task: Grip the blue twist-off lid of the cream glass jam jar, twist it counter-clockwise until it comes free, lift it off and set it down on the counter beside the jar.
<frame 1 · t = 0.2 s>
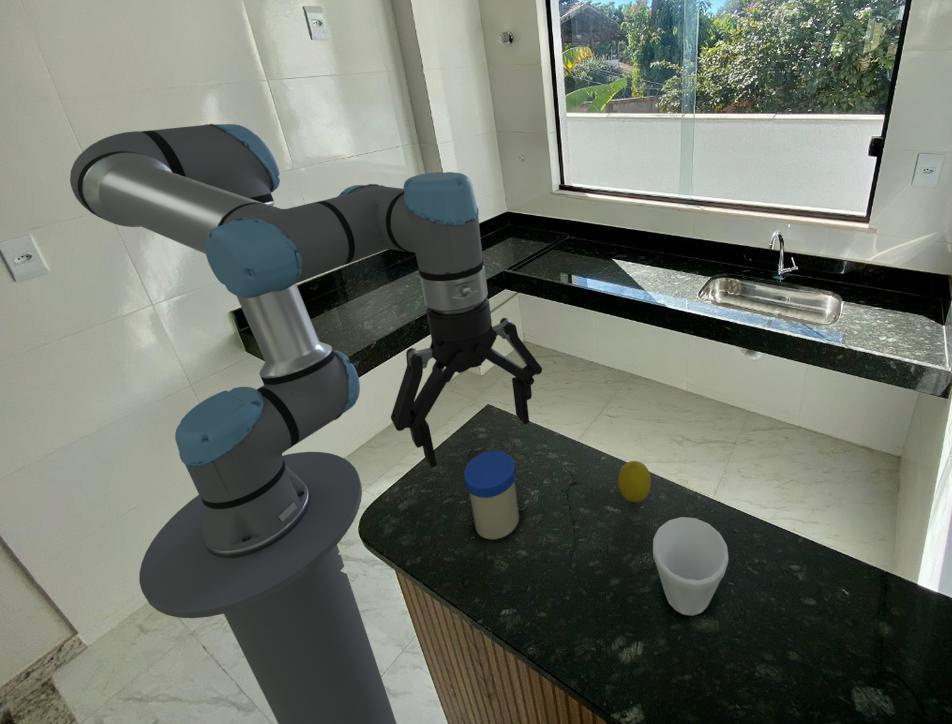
hand: (479, 438, 68), 21 cm above the counter, tool pointing down, fingers open, 13 cm apart
jar lid: (489, 470, 76), point 11 cm above the counter, screwed on, not yet turned
jar: (497, 520, 80), on the counter
cup: (687, 595, 68), on the counter
lemon: (634, 500, 83), on the counter
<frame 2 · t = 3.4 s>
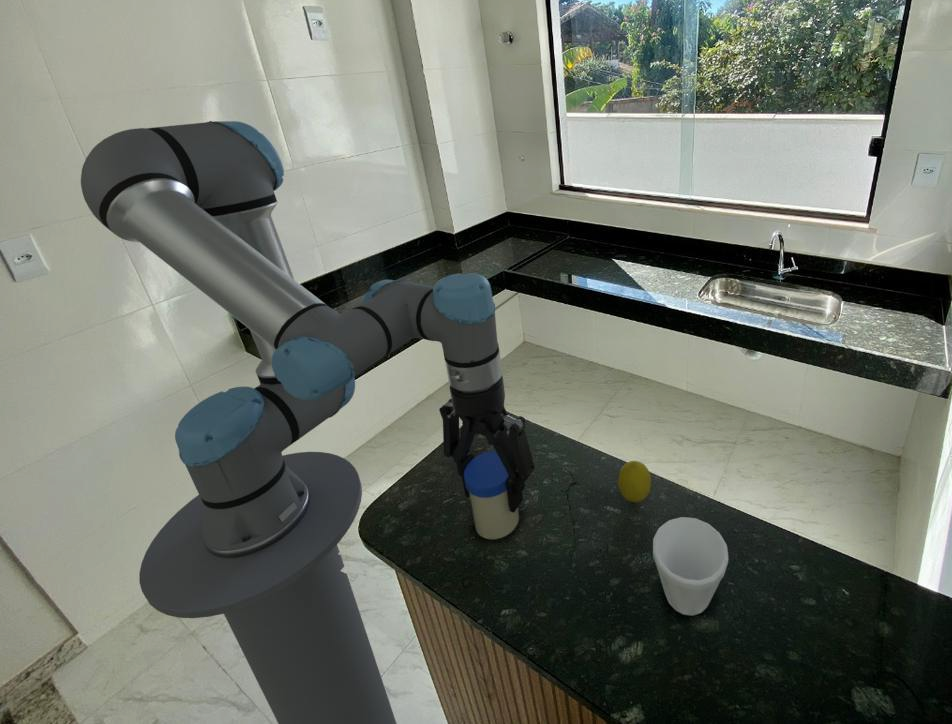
hand: (493, 497, 78), 5 cm above the counter, tool pointing down, fingers closed on jar lid, 8 cm apart
jar lid: (489, 470, 76), point 11 cm above the counter, screwed on, not yet turned, touching gripper
everything else where it was.
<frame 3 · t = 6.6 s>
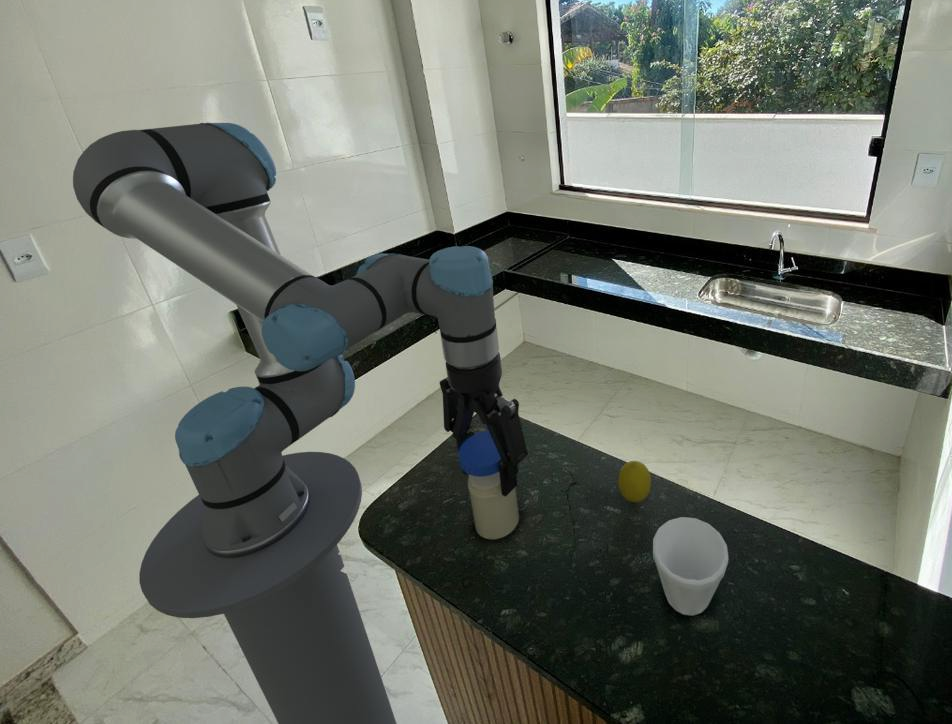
hand: (489, 478, 77), 9 cm above the counter, tool pointing down, fingers closed on jar lid, 8 cm apart
jar lid: (485, 449, 74), point 15 cm above the counter, off its thread, touching gripper
everything else where it was.
when the fingers open (1 cm above the counter, at t = 13.3 s): jar lid drops 6 cm, point 1 cm above the counter.
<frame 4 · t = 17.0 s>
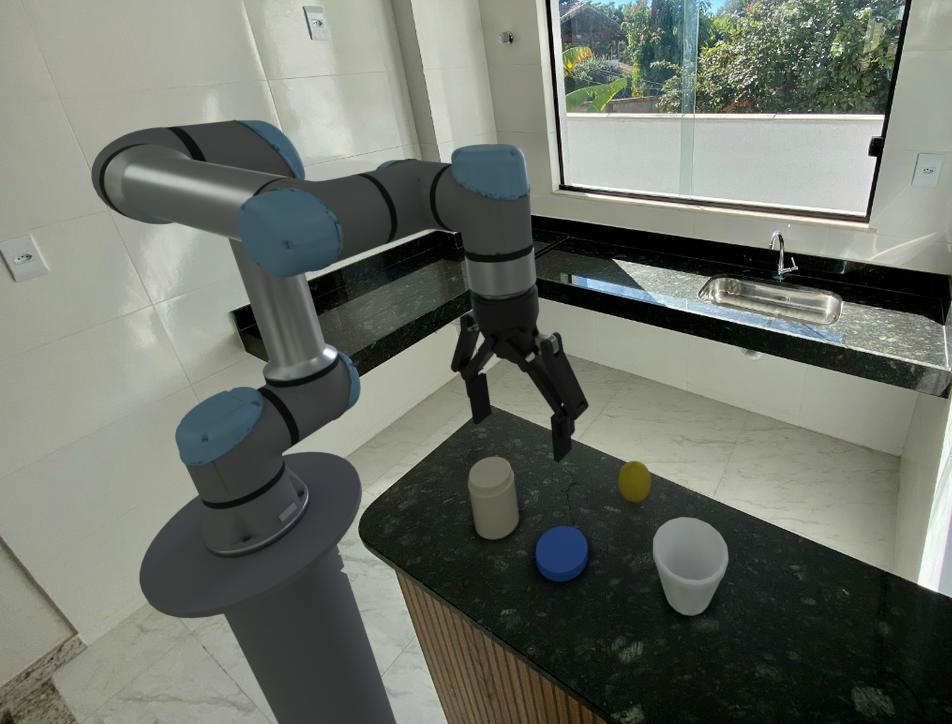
hand: (520, 435, 63), 25 cm above the counter, tool pointing down, fingers open, 13 cm apart
jar lid: (561, 549, 73), point 1 cm above the counter, off its thread
everything else where it was.
at the end: jar lid came off its thread; jar lid point 1.5 cm above the counter; the gripper is holding nothing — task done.
